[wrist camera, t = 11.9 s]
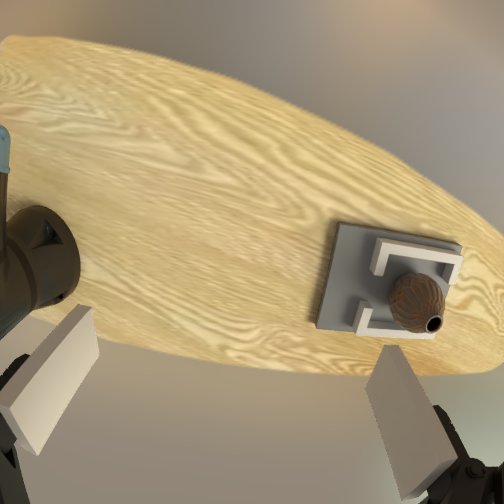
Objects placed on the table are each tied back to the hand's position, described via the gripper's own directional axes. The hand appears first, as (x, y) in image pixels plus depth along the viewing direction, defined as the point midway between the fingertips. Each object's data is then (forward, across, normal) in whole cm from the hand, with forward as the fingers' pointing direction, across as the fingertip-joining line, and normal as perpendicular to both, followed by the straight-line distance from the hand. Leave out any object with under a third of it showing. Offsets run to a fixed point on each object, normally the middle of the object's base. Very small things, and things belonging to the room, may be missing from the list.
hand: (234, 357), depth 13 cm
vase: (+23, +21, -6) cm, 32 cm away
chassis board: (+24, +19, -6) cm, 31 cm away
